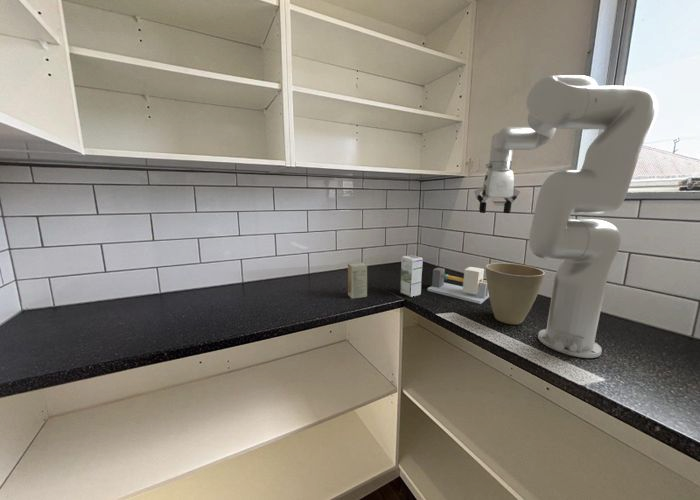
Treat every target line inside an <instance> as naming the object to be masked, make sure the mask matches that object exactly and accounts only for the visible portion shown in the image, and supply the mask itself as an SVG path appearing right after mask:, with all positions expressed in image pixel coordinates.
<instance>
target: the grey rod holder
mask: <svg viewBox="0 0 700 500" xmlns="http://www.w3.org/2000/svg"><path fill="white" fill-rule="evenodd" d="M445 272H446V268H443V267H435V268H434V269H432V277H431V278H432V279H431V280H432V281H431V286H429V287H427V289H426V290H427V292H431V293H435V294H439V295H443V296H446V297H451V298H454V299H459V300H463V301H466V302H470V303H474V304H478V305H482V304H483V303H484V302H485V301H486V300H488V299H489V293H488V287H487V279H483V282H479V285H480V288H479V293H478V294H477V295H475V294H471V293H467V292H462V291H463V285H462V286H461V285H456V284H452V283H448V282H445V280H451V281H456V282H461V283H463V281H464V277H459V276H454V275H449V273H448V274H446V273H445Z"/></svg>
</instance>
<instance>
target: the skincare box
mask: <svg viewBox="0 0 700 500" xmlns="http://www.w3.org/2000/svg"><path fill="white" fill-rule="evenodd" d="M347 295H348V297H349V298H350V299H353V300H354V299H360V298H366V297H368V265H367V264H366V263H364V262H355V263H352V262H351V263H348V264H347Z"/></svg>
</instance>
